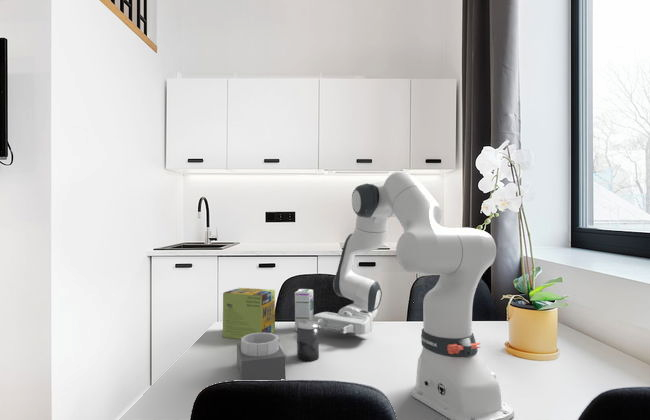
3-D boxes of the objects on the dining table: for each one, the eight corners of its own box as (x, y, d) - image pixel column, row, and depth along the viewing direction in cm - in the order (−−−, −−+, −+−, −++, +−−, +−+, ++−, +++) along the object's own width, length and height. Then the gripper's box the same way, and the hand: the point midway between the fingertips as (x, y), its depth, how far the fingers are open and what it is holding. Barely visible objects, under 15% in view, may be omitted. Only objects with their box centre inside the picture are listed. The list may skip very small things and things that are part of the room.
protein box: (262, 342, 126) (262, 295, 126) (222, 337, 131) (222, 292, 131) (275, 332, 136) (275, 289, 136) (237, 328, 141) (238, 287, 141)
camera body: (285, 379, 97) (285, 344, 97) (241, 385, 93) (241, 349, 93) (275, 360, 110) (275, 328, 110) (236, 364, 106) (236, 332, 107)
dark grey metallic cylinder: (321, 360, 110) (321, 325, 110) (300, 363, 108) (300, 327, 108) (315, 352, 116) (315, 320, 116) (294, 355, 114) (295, 321, 114)
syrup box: (310, 332, 136) (310, 292, 136) (294, 331, 137) (294, 291, 137) (314, 328, 142) (314, 289, 142) (298, 327, 143) (298, 288, 143)
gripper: (324, 305, 139) (303, 314, 128) (375, 313, 129) (357, 323, 117) (324, 323, 139) (303, 332, 128) (375, 332, 128) (357, 343, 117)
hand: (329, 328), depth 122 cm, fingers open, 8 cm apart
